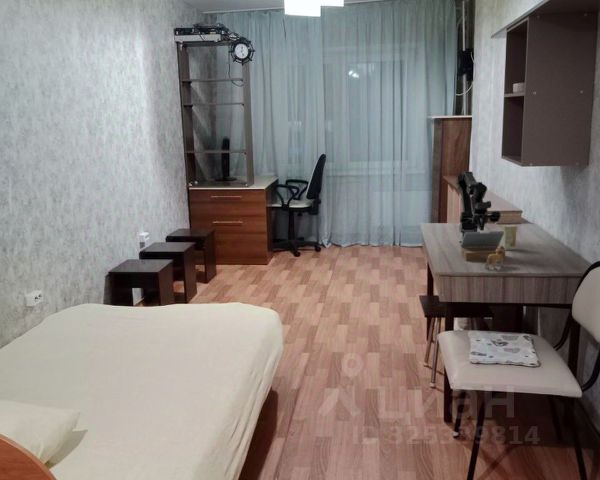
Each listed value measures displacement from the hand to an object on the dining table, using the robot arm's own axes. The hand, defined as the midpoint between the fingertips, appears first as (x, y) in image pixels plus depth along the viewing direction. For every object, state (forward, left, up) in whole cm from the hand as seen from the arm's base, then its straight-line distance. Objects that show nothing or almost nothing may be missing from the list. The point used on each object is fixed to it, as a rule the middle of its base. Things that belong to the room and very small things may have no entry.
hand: (482, 231), depth 276 cm
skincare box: (-10, +21, -13) cm, 27 cm away
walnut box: (+1, 0, -13) cm, 13 cm away
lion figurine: (+18, -3, -13) cm, 23 cm away
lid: (0, 0, -4) cm, 4 cm away
